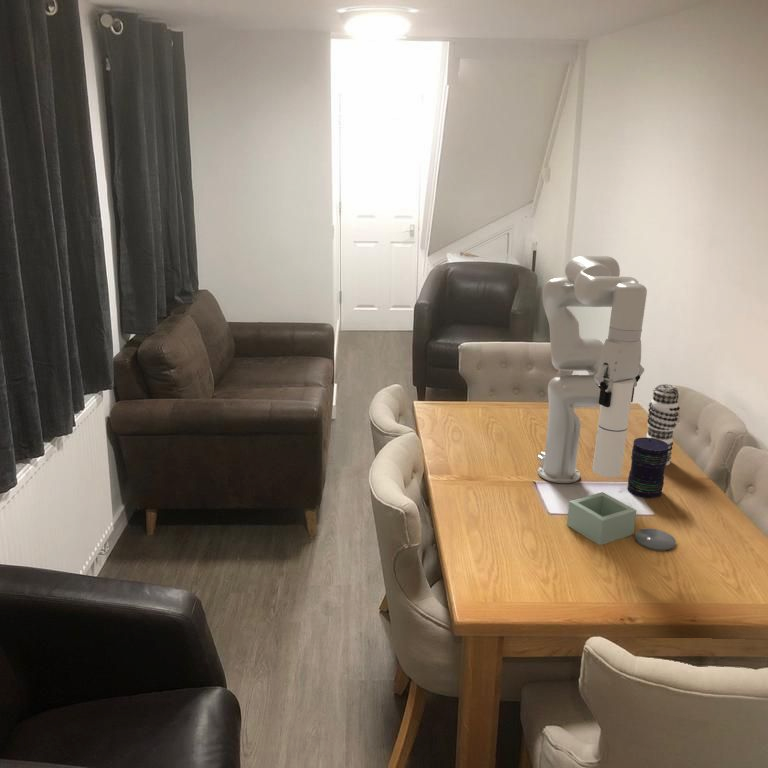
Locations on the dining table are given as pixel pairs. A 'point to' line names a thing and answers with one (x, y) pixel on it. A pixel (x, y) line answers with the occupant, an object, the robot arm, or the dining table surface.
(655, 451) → the storage jar
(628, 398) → the cylindrical container
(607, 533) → the collar
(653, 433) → the decorative candle
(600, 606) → the dining table surface
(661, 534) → the grey round disc
